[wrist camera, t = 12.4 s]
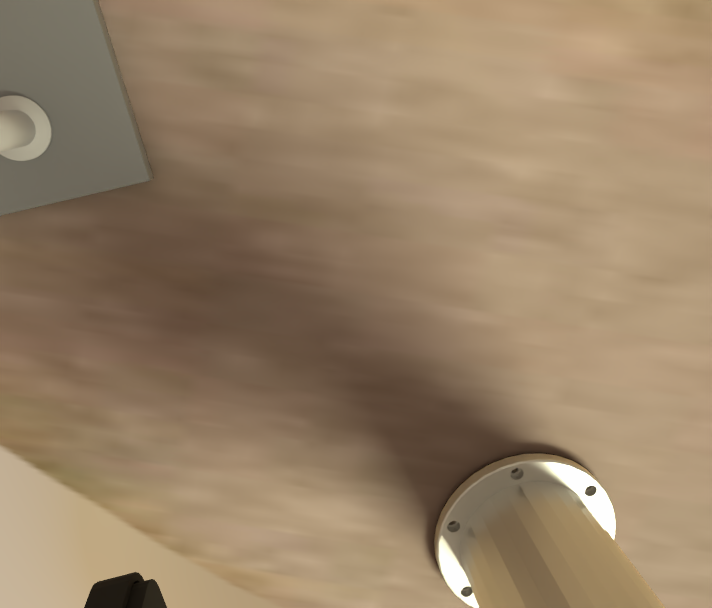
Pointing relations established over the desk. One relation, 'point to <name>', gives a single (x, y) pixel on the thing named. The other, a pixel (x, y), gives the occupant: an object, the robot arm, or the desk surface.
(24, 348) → the desk surface
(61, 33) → the pin board
